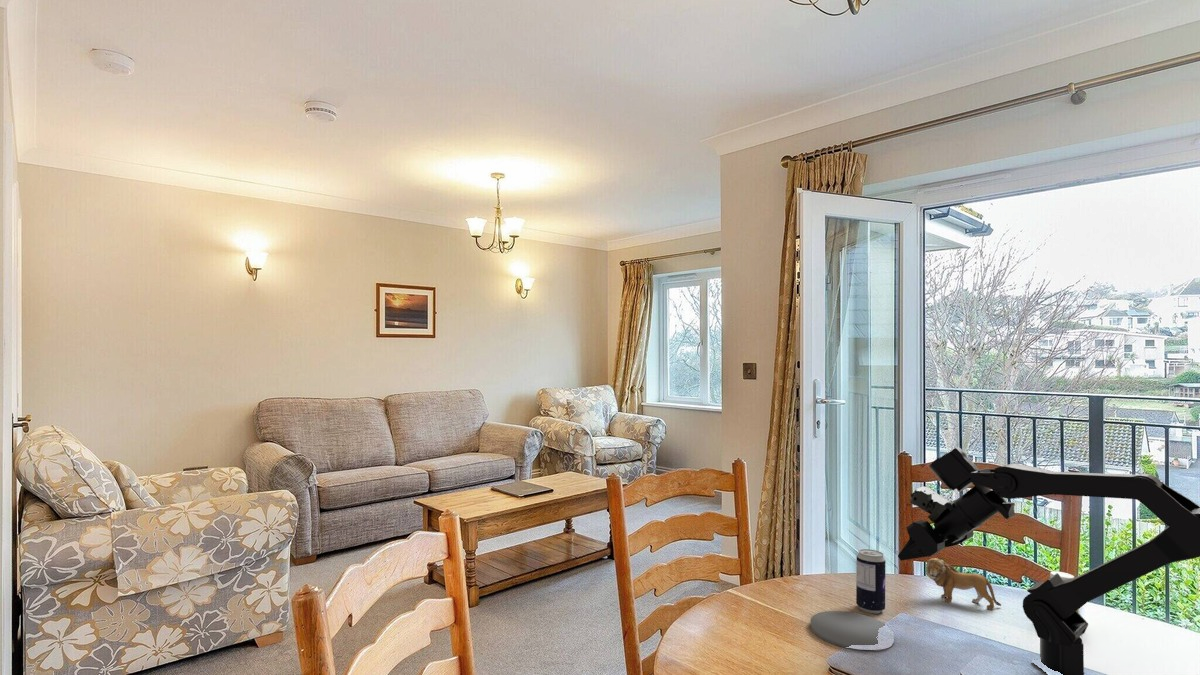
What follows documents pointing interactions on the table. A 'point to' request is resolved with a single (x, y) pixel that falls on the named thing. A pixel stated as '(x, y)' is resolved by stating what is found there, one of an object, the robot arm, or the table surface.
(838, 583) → the table surface
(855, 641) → the gray smooth stone
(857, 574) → the beverage can
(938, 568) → the lion figurine
